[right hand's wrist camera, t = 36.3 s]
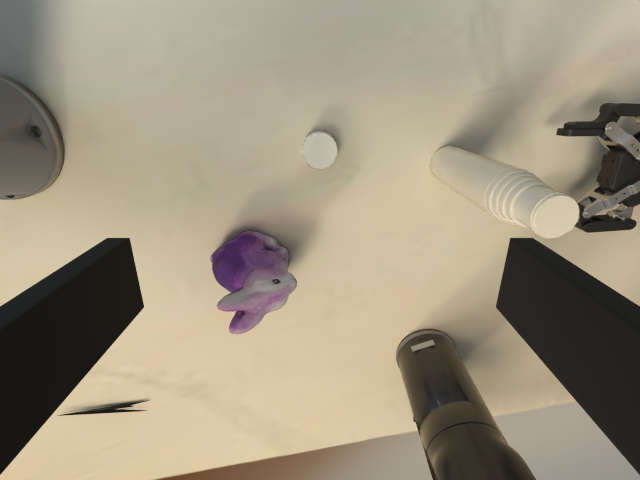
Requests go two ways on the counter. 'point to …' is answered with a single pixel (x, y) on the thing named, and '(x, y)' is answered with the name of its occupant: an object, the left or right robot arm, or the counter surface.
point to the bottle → (505, 191)
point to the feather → (107, 409)
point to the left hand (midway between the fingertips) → (552, 170)
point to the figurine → (252, 278)
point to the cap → (319, 150)
